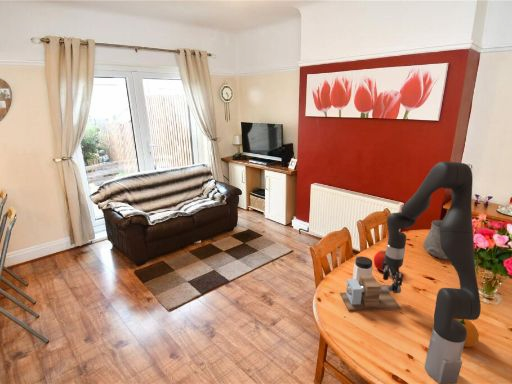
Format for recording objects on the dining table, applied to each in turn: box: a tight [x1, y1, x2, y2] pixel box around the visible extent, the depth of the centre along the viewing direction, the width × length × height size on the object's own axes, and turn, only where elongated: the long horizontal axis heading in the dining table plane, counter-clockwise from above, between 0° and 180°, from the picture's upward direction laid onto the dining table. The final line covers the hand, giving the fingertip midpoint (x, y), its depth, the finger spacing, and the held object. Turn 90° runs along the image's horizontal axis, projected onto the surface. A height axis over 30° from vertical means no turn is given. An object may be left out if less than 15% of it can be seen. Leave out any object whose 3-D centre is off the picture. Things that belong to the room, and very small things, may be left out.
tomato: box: [373, 250, 386, 272], centre depth 164 cm, size 10×11×11 cm
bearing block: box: [339, 275, 402, 312], centre depth 138 cm, size 12×24×12 cm, turn 93°
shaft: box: [346, 284, 402, 295], centre depth 137 cm, size 24×5×5 cm, turn 93°
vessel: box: [423, 219, 449, 260], centre depth 178 cm, size 22×22×20 cm
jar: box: [352, 255, 373, 283], centre depth 154 cm, size 9×8×12 cm
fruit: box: [456, 319, 480, 348], centre depth 116 cm, size 12×12×10 cm
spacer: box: [345, 278, 362, 305], centre depth 137 cm, size 8×4×8 cm, turn 3°
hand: (389, 285), depth 137 cm, fingers open, 8 cm apart
